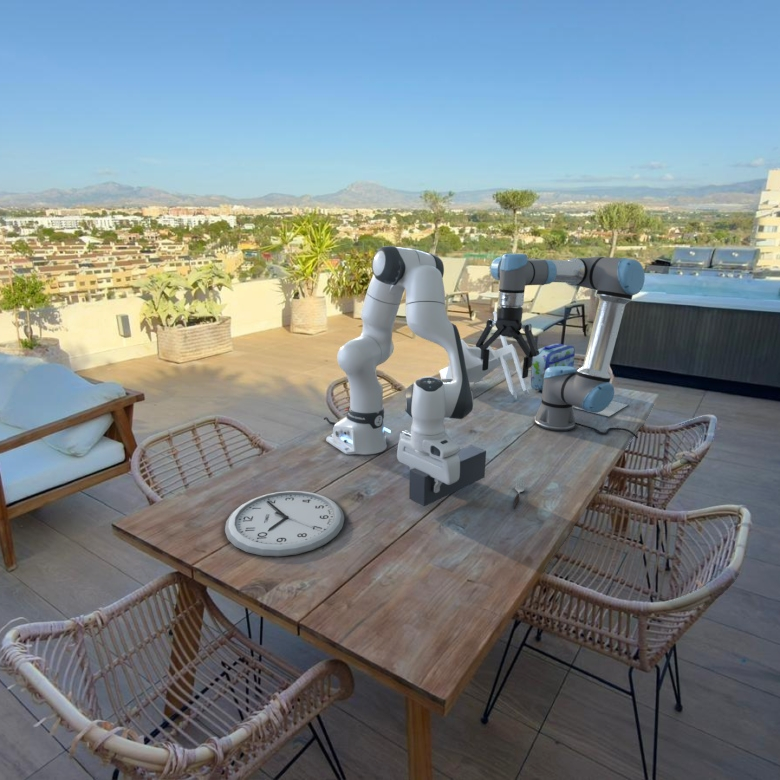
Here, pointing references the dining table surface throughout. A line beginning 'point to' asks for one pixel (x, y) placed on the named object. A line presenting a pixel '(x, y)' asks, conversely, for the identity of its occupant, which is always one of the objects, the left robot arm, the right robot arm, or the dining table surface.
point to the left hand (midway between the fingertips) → (426, 486)
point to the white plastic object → (495, 360)
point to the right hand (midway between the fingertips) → (504, 373)
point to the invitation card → (610, 408)
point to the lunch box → (550, 362)
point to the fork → (518, 489)
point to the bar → (422, 482)
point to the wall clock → (284, 523)
